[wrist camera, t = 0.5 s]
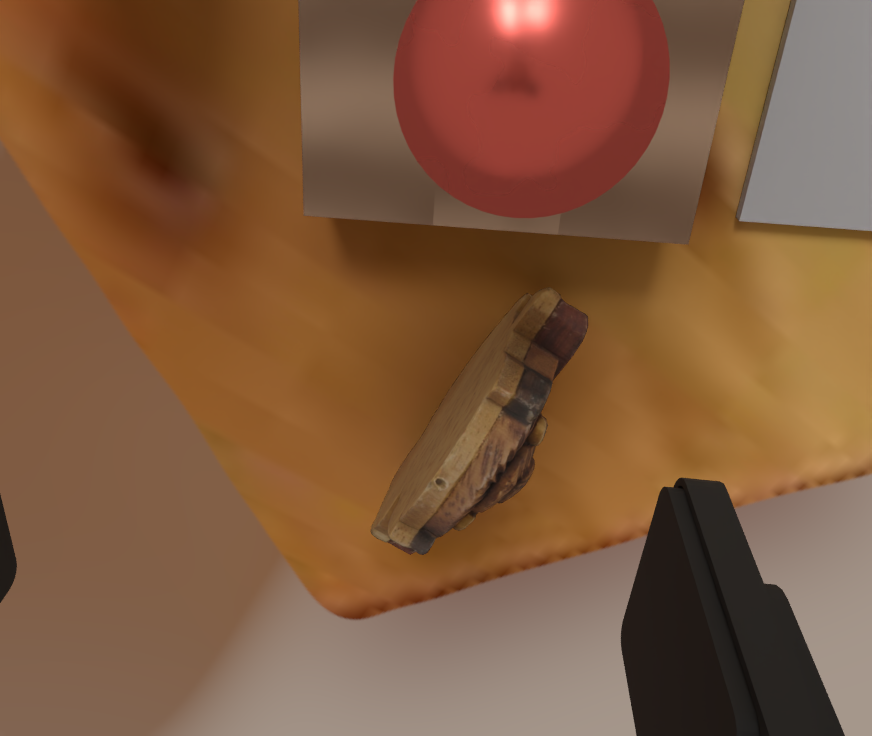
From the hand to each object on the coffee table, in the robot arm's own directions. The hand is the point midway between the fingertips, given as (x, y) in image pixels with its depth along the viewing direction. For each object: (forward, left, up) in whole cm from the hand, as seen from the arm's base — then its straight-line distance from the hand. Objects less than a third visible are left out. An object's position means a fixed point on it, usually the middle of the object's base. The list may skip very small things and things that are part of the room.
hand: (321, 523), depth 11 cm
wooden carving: (+14, +3, -28) cm, 32 cm away
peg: (-4, +3, -28) cm, 28 cm away
